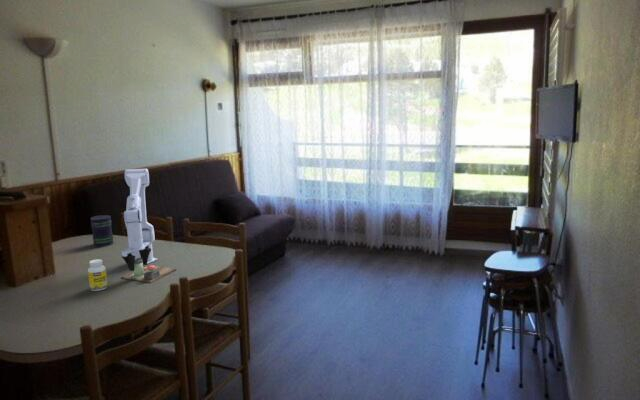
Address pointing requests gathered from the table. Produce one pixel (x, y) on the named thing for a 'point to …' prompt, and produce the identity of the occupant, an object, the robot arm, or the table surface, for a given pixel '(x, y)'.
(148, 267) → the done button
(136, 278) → the board
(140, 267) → the pale green jar
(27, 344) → the table surface
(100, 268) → the pill bottle
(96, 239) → the storage jar
